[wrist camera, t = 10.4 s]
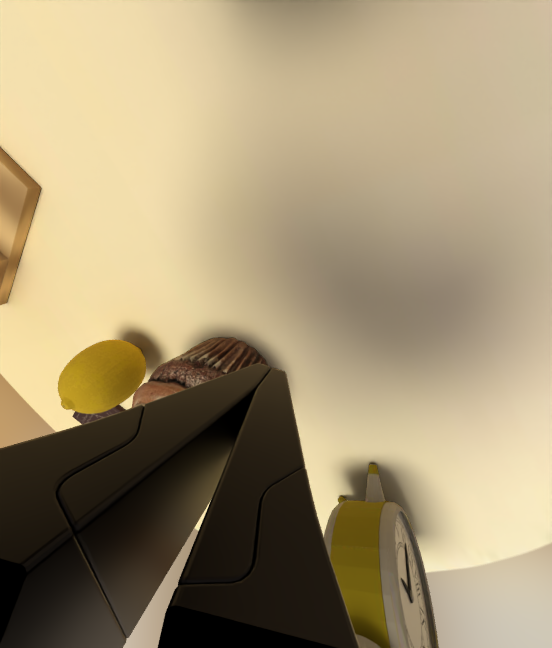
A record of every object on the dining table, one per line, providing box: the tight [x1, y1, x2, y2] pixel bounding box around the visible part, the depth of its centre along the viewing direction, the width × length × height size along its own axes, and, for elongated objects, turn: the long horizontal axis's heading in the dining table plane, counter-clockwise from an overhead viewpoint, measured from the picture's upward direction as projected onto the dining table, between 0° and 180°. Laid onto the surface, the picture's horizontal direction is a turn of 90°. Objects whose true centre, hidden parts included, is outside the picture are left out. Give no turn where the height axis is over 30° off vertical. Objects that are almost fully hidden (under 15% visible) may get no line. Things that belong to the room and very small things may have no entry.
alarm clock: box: [324, 464, 439, 648], centre depth 21 cm, size 12×7×15 cm, turn 27°
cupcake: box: [132, 338, 268, 408], centre depth 21 cm, size 10×10×10 cm
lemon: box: [58, 340, 146, 414], centre depth 24 cm, size 6×6×8 cm
